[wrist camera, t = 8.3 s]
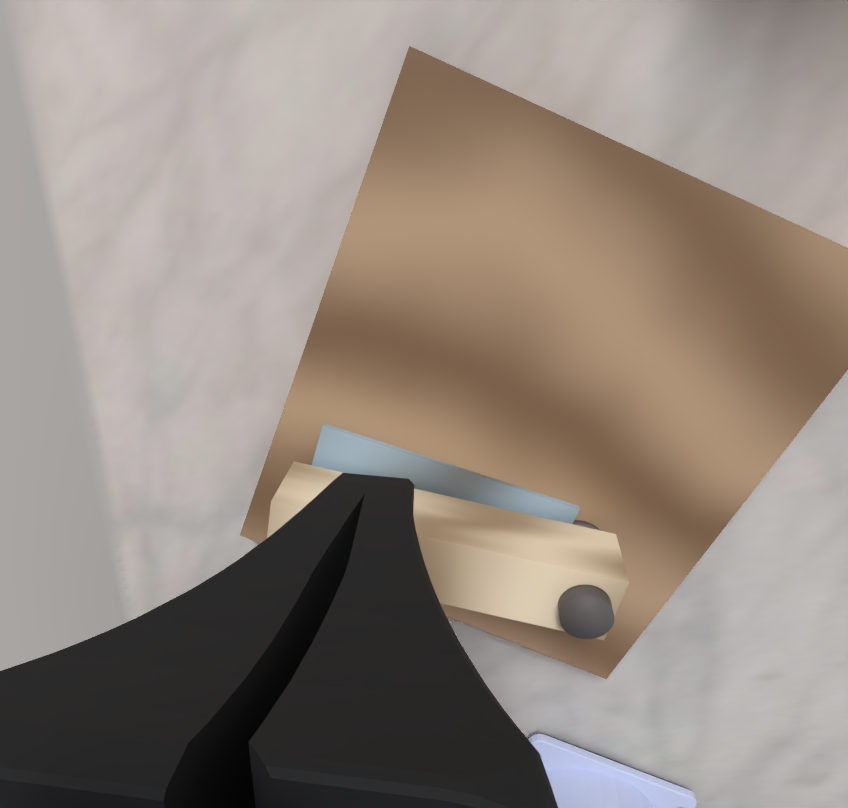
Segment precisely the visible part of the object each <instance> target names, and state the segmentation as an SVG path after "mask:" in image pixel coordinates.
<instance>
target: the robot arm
mask: <svg viewBox="0 0 848 808" xmlns="http://www.w3.org/2000/svg"><path fill="white" fill-rule="evenodd" d="M413 507H414V484H413V483H412V482H411V481H410V480H409V479H407V478H396V477H385V476H374V475H362V474H351V473H342V474H341V475H339V476H338V477H337V478H336V479H335V480H334V481H332V482H331V483H330V484H329V485H328V486H327V487H326V488H325V489H324V490H323V491H321V492H320V493H319V494H318V495H317V496H316V497H315V498H314V499H313V500H312V501H311V502H309V503H308V504H307V505H306V506H305V507H304V508H303V509H302V510H300V511H299V512H298V513H297V514H296V515H295V516H293V517H292V518H291V519H290V520H289V521H288V522H286V523H285V524H284V525H283V526H282V527H280V528H279V529H278V530H277V531H276V532H274V533H273V534H272V535H271V536H269V537H268V538H267V539H266V540H264V541H263V542H262V543H260V544H259V545H258V546H256V547H255V548H254V549H252V550H251V551H250V552H248V553H247V554H246V555H244V556H243V557H242V558H240V559H239V560H237V561H236V562H235V563H233V564H232V565H230V566H229V567H227V568H225V569H224V570H222V571H221V572H219V573H218V574H216V575H214V576H213V577H211V578H209V579H208V580H206V581H205V582H203V583H201V584H200V585H198V586H196V587H195V588H193V589H191V590H189V591H188V592H186V593H184V594H182V595H180V596H178V597H176V598H174V599H172V600H170V601H169V602H167V603H165V604H163V605H161V606H159V607H157V608H155V609H153V610H151V611H149V612H147V613H145V614H143V615H142V616H140V617H138V618H135V619H133V620H131V621H129V622H127V623H125V624H122V625H120V626H118V627H116V628H114V629H111V630H109V631H107V632H105V633H102V634H100V635H97V636H95V637H92V638H90V639H88V640H85V641H83V642H80V643H78V644H76V645H73V646H70V647H68V648H65V649H63V650H60V651H57V652H55V653H52V654H49V655H46V656H43V657H41V658H38V659H35V660H32V661H29V662H26V663H23V664H20V665H17V666H14V667H11V668H8V669H5V670H3V671H0V808H695V807H696V805H697V801H696V797H695V794H694V793H693V792H692V791H690V790H688V789H685V788H683V787H680V786H677V785H675V784H672V783H670V782H667V781H664V780H662V779H659V778H657V777H654V776H651V775H649V774H646V773H643V772H641V771H638V770H636V769H633V768H630V767H628V766H625V765H623V764H620V763H617V762H615V761H612V760H609V759H607V758H604V757H602V756H599V755H596V754H594V753H591V752H589V751H586V750H583V749H581V748H578V747H575V746H573V745H570V744H568V743H565V742H562V741H560V740H557V739H555V738H552V737H549V736H547V735H544V734H535V735H533V736H531V737H530V738H529V739H527V738H526V737H525V735H524V734H523V733H522V732H521V731H520V729H519V728H518V727H517V726H516V724H515V723H514V722H513V721H512V719H511V718H510V717H509V716H508V714H507V713H506V712H505V711H504V709H503V708H502V706H501V705H500V704H499V702H498V701H497V700H496V698H495V697H494V695H493V694H492V693H491V691H490V690H489V688H488V687H487V686H486V684H485V683H484V681H483V680H482V678H481V676H480V675H479V673H478V672H477V670H476V668H475V667H474V665H473V663H472V662H471V660H470V659H469V657H468V655H467V654H466V652H465V651H464V649H463V647H462V646H461V644H460V642H459V641H458V639H457V637H456V635H455V633H454V631H453V629H452V627H451V625H450V623H449V621H448V619H447V617H446V615H445V613H444V611H443V609H442V606H441V604H440V602H439V600H438V597H437V595H436V593H435V590H434V588H433V585H432V583H431V580H430V577H429V574H428V571H427V568H426V565H425V562H424V559H423V556H422V553H421V549H420V545H419V541H418V537H417V533H416V528H415V523H414V516H413Z"/></svg>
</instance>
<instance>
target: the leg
mask: <svg viewBox="0 0 848 808" xmlns="http://www.w3.org/2000/svg"><path fill="white" fill-rule="evenodd" d="M342 473H343V472H339V471H334V470H330V469H325V468H321V467H317V466H312V465H308V464H303V463H299V462H293V464H292V465H291V467H290V469H289V471H288V472H287V474H286V476H285V478H284V479H283V481H282V483H281V485H280V486H279V488H278V490H277V492H276V493H275V495H274V497H273V499H272V500H271V506H270V515H269V524H268V533H267V538H268V537H269V536H271V535H272V534H273V533H274V532H276V531H277V530H278V529H279V528H280V527H282V526H283V525H284V524H285V523H286V522H288V521H289V520H290V519H291V518H292V517H293V516H295V515H296V514H297V513H298V512H299V511H300V510H302V509H303V508H304V507H305V506H306V505H307V504H308V503H309V502H311V501H312V500H313V499H314V498H315V497H316V496H317V495H318V494H319V493H320V492H321V491H323V490H324V489H325V488H326V487H327V486H328V485H329V484H330V483H331V482H332V481H334V480H335V479H336V478H337V477H338V476H339V475H341V474H342ZM413 516H414V523H415V528H416V533H417V537H418V541H419V545H420V549H421V553H422V556H423V559H424V562H425V565H426V568H427V571H428V574H429V577H430V580H431V583H432V585H433V588H434V590H435V593H436V595H437V597H438V600H439V602H440V603H442V604H446V605H450V606H455V607H459V608H464V609H468V610H472V611H477V612H481V613H486V614H490V615H494V616H499V617H503V618H508V619H512V620H516V621H521V622H525V623H530V624H534V625H538V626H543V627H547V628H552V629H556V630H560V631H565V632H566V633H568V634H569V635H571V636H573V637H575V638H579V639H600V640H604V639H605V637H606V635H607V633H608V631H609V630H610V629H611V628H612V626H613V624H614V617H615V614H616V612H617V610H618V607H619V605H620V603H621V600H622V598H623V596H624V594H625V591H626V589H627V587H628V584H629V580H628V576H627V572H626V569H625V565H624V561H623V558H622V554H621V550H620V547H619V543H618V539H617V536H616V534H614V533H609V532H605V531H600V530H596V529H591V528H587V527H583V526H578V525H574V524H569V523H565V522H560V521H556V520H551V519H547V518H543V517H538V516H534V515H529V514H525V513H520V512H516V511H512V510H507V509H503V508H498V507H494V506H489V505H485V504H481V503H476V502H472V501H467V500H463V499H458V498H454V497H450V496H445V495H441V494H436V493H432V492H427V491H423V490H419V489H414V507H413Z"/></svg>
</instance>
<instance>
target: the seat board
mask: <svg viewBox="0 0 848 808" xmlns="http://www.w3.org/2000/svg"><path fill="white" fill-rule="evenodd" d="M847 370H848V248H846V247H844V246H842V245H840V244H838V243H835V242H833V241H831V240H829V239H827V238H825V237H822V236H820V235H818V234H816V233H814V232H812V231H809V230H807V229H805V228H803V227H801V226H798V225H796V224H794V223H792V222H790V221H788V220H785V219H783V218H781V217H779V216H777V215H775V214H772V213H770V212H768V211H766V210H764V209H762V208H759V207H757V206H755V205H753V204H751V203H749V202H746V201H744V200H742V199H740V198H738V197H736V196H733V195H731V194H729V193H727V192H725V191H723V190H720V189H718V188H716V187H714V186H712V185H710V184H707V183H705V182H703V181H701V180H699V179H697V178H694V177H692V176H690V175H688V174H686V173H684V172H681V171H679V170H677V169H675V168H673V167H671V166H668V165H666V164H664V163H662V162H660V161H657V160H655V159H653V158H651V157H649V156H647V155H644V154H642V153H640V152H638V151H636V150H634V149H631V148H629V147H627V146H625V145H623V144H621V143H618V142H616V141H614V140H612V139H610V138H608V137H605V136H603V135H601V134H599V133H597V132H595V131H592V130H590V129H588V128H586V127H584V126H582V125H579V124H577V123H575V122H573V121H571V120H569V119H566V118H564V117H562V116H560V115H558V114H556V113H553V112H551V111H549V110H547V109H545V108H543V107H540V106H538V105H536V104H534V103H532V102H529V101H527V100H525V99H523V98H521V97H519V96H516V95H514V94H512V93H510V92H508V91H506V90H503V89H501V88H499V87H497V86H495V85H493V84H490V83H488V82H486V81H484V80H482V79H480V78H477V77H475V76H473V75H471V74H469V73H467V72H464V71H462V70H460V69H458V68H456V67H454V66H451V65H449V64H447V63H445V62H443V61H441V60H438V59H436V58H434V57H432V56H430V55H428V54H425V53H423V52H421V51H419V50H417V49H415V48H412V47H410V46H409V49H408V52H407V55H406V58H405V61H404V63H403V66H402V69H401V72H400V75H399V78H398V81H397V84H396V87H395V89H394V92H393V95H392V98H391V101H390V104H389V107H388V110H387V112H386V115H385V118H384V121H383V124H382V127H381V130H380V133H379V136H378V138H377V141H376V144H375V147H374V150H373V153H372V156H371V159H370V162H369V164H368V167H367V170H366V173H365V176H364V179H363V182H362V185H361V187H360V190H359V193H358V196H357V199H356V202H355V205H354V208H353V211H352V213H351V216H350V219H349V222H348V225H347V228H346V231H345V234H344V236H343V239H342V242H341V245H340V248H339V251H338V254H337V257H336V260H335V262H334V265H333V268H332V271H331V274H330V277H329V280H328V283H327V285H326V288H325V291H324V294H323V297H322V300H321V303H320V306H319V309H318V311H317V314H316V317H315V320H314V323H313V326H312V329H311V332H310V335H309V337H308V340H307V343H306V346H305V349H304V352H303V355H302V358H301V360H300V363H299V366H298V369H297V372H296V375H295V378H294V381H293V384H292V386H291V389H290V392H289V395H288V398H287V401H286V404H285V407H284V409H283V412H282V415H281V418H280V421H279V424H278V427H277V430H276V433H275V435H274V438H273V441H272V444H271V447H270V450H269V453H268V456H267V458H266V461H265V464H264V467H263V470H262V473H261V476H260V479H259V482H258V484H257V487H256V490H255V493H254V496H253V499H252V502H251V505H250V508H249V510H248V513H247V516H246V519H245V522H244V525H243V528H242V531H241V533H240V535H241V536H244V537H246V538H249V539H251V540H254V541H256V542H259V543H262V542H263V541H264V540H266V539H267V533H268V524H269V515H270V506H271V500H272V499H273V497H274V495H275V493H276V492H277V490H278V488H279V486H280V485H281V483H282V481H283V479H284V478H285V476H286V474H287V472H288V471H289V469H290V467H291V465H292V464H293V462H299V463H303V464H308V465H312V466H317V467H321V468H325V469H330V470H334V471H339V472H343V473H351V474H362V475H374V476H385V477H396V478H407V479H409V480H410V481H411V482H412V483H413V484H414V489H419V490H423V491H427V492H432V493H436V494H441V495H445V496H450V497H454V498H458V499H463V500H467V501H472V502H476V503H481V504H485V505H489V506H494V507H498V508H503V509H507V510H512V511H516V512H520V513H525V514H529V515H534V516H538V517H543V518H547V519H551V520H556V521H560V522H565V523H569V524H574V525H578V526H583V527H587V528H591V529H596V530H600V531H605V532H609V533H614V534H616V536H617V539H618V543H619V547H620V550H621V554H622V558H623V561H624V565H625V569H626V572H627V576H628V580H629V584H628V587H627V589H626V591H625V594H624V596H623V598H622V600H621V603H620V605H619V607H618V610H617V612H616V614H615V617H614V624H613V626H612V628H611V629H610V630H609V631H608V633H607V635H606V637H605V639H604V640H600V639H579V638H575V637H573V636H571V635H569V634H568V633H566V632H565V631H560V630H556V629H552V628H547V627H543V626H538V625H534V624H530V623H525V622H521V621H516V620H512V619H508V618H503V617H499V616H494V615H490V614H486V613H481V612H477V611H472V610H468V609H464V608H459V607H455V606H450V605H446V604H442V603H440V604H441V606H442V609H443V611H444V613H445V615H446V616H447V617H450V618H452V619H455V620H458V621H460V622H463V623H465V624H468V625H470V626H473V627H475V628H478V629H480V630H483V631H486V632H488V633H491V634H493V635H496V636H498V637H501V638H503V639H506V640H509V641H511V642H514V643H516V644H519V645H521V646H524V647H526V648H529V649H531V650H534V651H537V652H539V653H542V654H544V655H547V656H549V657H552V658H554V659H557V660H559V661H562V662H565V663H567V664H570V665H572V666H575V667H577V668H580V669H582V670H585V671H587V672H590V673H593V674H595V675H598V676H600V677H603V678H605V679H607V677H608V676H609V675H610V673H611V672H612V671H613V670H614V668H615V667H616V666H617V665H618V663H619V662H620V661H621V659H622V658H623V657H624V656H625V654H626V653H627V652H628V650H629V649H630V648H631V647H632V645H633V644H634V643H635V641H636V640H637V639H638V638H639V636H640V635H641V634H642V632H643V631H644V630H645V629H646V627H647V626H648V625H649V623H650V622H651V621H652V620H653V618H654V617H655V616H656V615H657V613H658V612H659V611H660V609H661V608H662V607H663V606H664V604H665V603H666V602H667V600H668V599H669V598H670V597H671V595H672V594H673V593H674V591H675V590H676V589H677V588H678V586H679V585H680V584H681V582H682V581H683V580H684V579H685V577H686V576H687V575H688V574H689V572H690V571H691V570H692V568H693V567H694V566H695V565H696V563H697V562H698V561H699V559H700V558H701V557H702V556H703V554H704V553H705V552H706V550H707V549H708V548H709V547H710V545H711V544H712V543H713V541H714V540H715V539H716V538H717V536H718V535H719V534H720V533H721V531H722V530H723V529H724V527H725V526H726V525H727V524H728V522H729V521H730V520H731V518H732V517H733V516H734V515H735V513H736V512H737V511H738V509H739V508H740V507H741V506H742V504H743V503H744V502H745V500H746V499H747V498H748V497H749V495H750V494H751V493H752V491H753V490H754V489H755V488H756V486H757V485H758V484H759V483H760V481H761V480H762V479H763V477H764V476H765V475H766V474H767V472H768V471H769V470H770V468H771V467H772V466H773V465H774V463H775V462H776V461H777V459H778V458H779V457H780V456H781V454H782V453H783V452H784V450H785V449H786V448H787V447H788V445H789V444H790V443H791V442H792V440H793V439H794V438H795V436H796V435H797V434H798V433H799V431H800V430H801V429H802V427H803V426H804V425H805V424H806V422H807V421H808V420H809V418H810V417H811V416H812V415H813V413H814V412H815V411H816V409H817V408H818V407H819V406H820V404H821V403H822V402H823V401H824V399H825V398H826V397H827V395H828V394H829V393H830V392H831V390H832V389H833V388H834V386H835V385H836V384H837V383H838V381H839V380H840V379H841V377H842V376H843V375H844V374H845V372H846V371H847Z"/></svg>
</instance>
